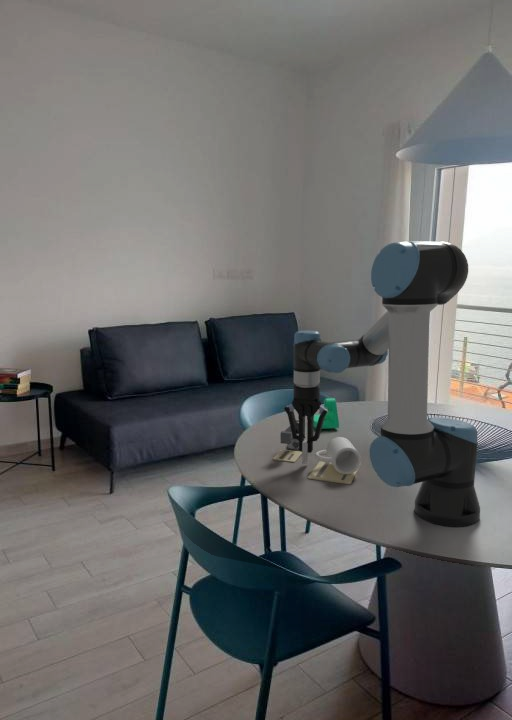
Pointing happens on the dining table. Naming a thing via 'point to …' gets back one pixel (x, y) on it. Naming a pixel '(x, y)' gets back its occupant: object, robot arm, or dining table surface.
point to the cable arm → (288, 435)
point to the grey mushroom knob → (294, 445)
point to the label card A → (287, 455)
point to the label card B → (330, 474)
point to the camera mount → (329, 415)
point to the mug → (341, 455)
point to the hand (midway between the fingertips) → (305, 462)
